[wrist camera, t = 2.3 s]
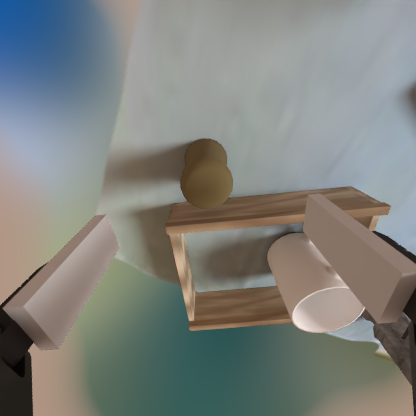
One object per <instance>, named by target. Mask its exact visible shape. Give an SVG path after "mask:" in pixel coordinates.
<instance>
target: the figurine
mask: <svg viewBox="0 0 416 416" xmlns="http://www.w3.org/2000/svg"><path fill="white" fill-rule="evenodd" d="M362 316H363V317H364V318H365V319H366V320H368V321H371V322H373V323H374V324H375V325H374V327H373V330H374V337H375V338H377V339H378V340H379V341H380V342H381V344H382V346H383V347H384V349H385V350H386V351H387V353H388V354H389V355H390V356H391V358H392V359H393V360H394V362H395V363H396V364H397V365H398V367H399V368H400V370H401V371H402V373H403V374H404V376H405V377H406V378H407V380H408V381H409V382H410V384H411V385H412V376H411V361H410V346H409V335H408V336H407V338H406V339H405V340H404V339H401V337H402V334H403V332H404V331H405V329H406V327H407V326H408V324H409V323H410V321H411V320H410V319H409V318H408V317H407V316H406V315H405V313H404V312H403V313H402V315H401V316H400V318H399V320H398V322H392V323H379V324H378V323H377V322H376V321H375V320H374V318H373V317H372V316H371V315H370V313H369V312H368V311H367V310H366V309H364V311H363V312H362Z"/></svg>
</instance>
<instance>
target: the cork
mask: <svg viewBox="0 0 416 416" xmlns="http://www.w3.org/2000/svg"><path fill="white" fill-rule="evenodd" d="M185 167H186V168H185V169H184V170H183V173H182V176H181V179H180V184H181V190H182V193H183V195H184V197H185V198H186V200H187V201H188V202H189V203H190V204H192V205H193V206H195V207H198V208H201V209H212V208H216V207H218V206H220V205H222V204H223V203H224V202H225V201H226V200H227V199H228V198H229V196H230V194H231V191H232V187H233V179H232V175H231V172H230V170H229V169H228V167H227V155H226V151H225V150H224V148H223V147H222V145H221V144H219V143H218V142H217V141H215V140H212V139H200V140H197V141H195V142H194V143H192V144H191V145H190V146H189V148H188V149H187V151H186V154H185Z"/></svg>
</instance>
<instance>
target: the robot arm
mask: <svg viewBox="0 0 416 416" xmlns="http://www.w3.org/2000/svg"><path fill="white" fill-rule="evenodd" d="M302 231H303V232H304V233H305V234H306V235H307V237H308V238H309V239H310V240H311V242H312V243H313V244H314V245H315V247H316V248H317V249H318V250H319V252H320V253H321V254H322V255H323V257H324V258H325V259H326V260H327V261H328V263H329V264H330V265H331V266H332V268H333V269H334V270H335V271H336V273H337V274H338V275H339V276H340V278H341V279H342V280H343V281H344V283H345V284H346V285H347V286H348V287H349V289H350V290H351V291H352V292H353V294H354V295H355V296H356V297H357V299H358V300H359V301H360V302H361V304H362V305H363V306H364V307H365V309H366V310H367V311H368V312H369V313H370V315H371V316H372V317H373V318H374V320H375V321H376V322H377V323H378V324H379V323H392V322H398V320H399V318H400V316H401V315H402V313H403V312H404V313H405V315H406V316H407V317H408V318H409V319H410V320H411V321H410V323H409V324H408V326H407V327H406V329H405V331H404V332H403V334H402V337H401V339H404V340H405V339H406V338H407V336H408V335H409V346H410V361H411V376H412V390H413V405H414V416H416V256H415V255H414V254H412V253H411V252H409V251H407V250H406V249H405V248H404V247H402V246H401V245H398V243H396V242H395V241H394V240H392V239H391V238H389V237H388V236H386V235H383V234H381V233H379V232H376V231H370V230H369V229H368V228H366V227H365V226H363V225H362V224H361V223H359V222H358V221H357V220H355V219H354V218H353V217H351V216H350V215H348V214H347V213H346V212H344V211H343V210H342V209H340V208H339V207H338V206H336V205H335V204H334V203H332V202H331V201H329V200H328V199H327V198H325V197H324V196H323V195H321V194H310V195H308V197H307V203H306V210H305V217H304V223H303V230H302ZM119 248H120V247H119V245H118V242H117V240H116V237H115V235H114V232H113V229H112V227H111V224H110V222H109V219H108V217H107V215H97V216H94V217H93V218H92V219H91V220H90V222H88V223H87V225H85V227H83V228H82V229H81V230H80V231H79V232H78V233H77V234H76V235H75V236H74V237H73V238H72V239H71V240H70V241H69V242H68V244H66V245H65V246H64V247H63V248H62V249H61V250H60V251H59V252H58V253H57V254H56V255H55V256H54V257H53V258H52V259H51V260H50V261H49V262H48V263H46V264H45V265H43V266H42V267H40V268H39V269H37V270H36V271H35V272H34V273H33V274H32V275H31V276H30V277H29V279H28V280H26V281H25V282H24V283H23V284H22V285H21V287H19V288H18V289H17V290H16V291H15V292H14V293H13V294H12V295H10V296H9V297H8V299H6V300H5V301H4V302H3V303H2V304H1V305H0V416H33V403H32V367H31V355H30V353H29V352H28V349H29V348H30V346H31V345H32V344H33V343H34V344H35V345H36V346H37V347H38V348H39V349H40V350H54V349H59V348H60V346H61V344H62V343H63V341H64V339H65V337H66V336H67V334H68V333H69V331H70V329H71V328H72V326H73V324H74V323H75V321H76V319H77V318H78V316H79V314H80V313H81V311H82V309H83V308H84V306H85V304H86V303H87V301H88V299H89V298H90V296H91V294H92V293H93V291H94V289H95V288H96V286H97V284H98V282H99V281H100V279H101V278H102V276H103V274H104V272H105V271H106V269H107V268H108V266H109V264H110V263H111V261H112V259H113V258H114V256H115V254H116V253H117V251H118V249H119Z"/></svg>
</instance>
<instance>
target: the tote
mask: <svg viewBox="0 0 416 416" xmlns="http://www.w3.org/2000/svg"><path fill="white" fill-rule="evenodd" d="M310 194H321V195H323V196H324V197H325V198H327V199H328V200H329V201H331V202H332V203H334V204H335V205H336V206H338V207H339V208H340V209H342V210H343V211H344V212H346V213H347V214H348V215H350V216H351V217H353V218H354V219H355V220H357V221H358V222H359V223H361V224H362V225H363V226H365V227H366V228H368V229H369V230H370V231H374V229H375V227H376V224H377V221H378V218H379V215H388V213H389V210H390V207H391V206H390V205H388V204H386V203H381V202H379V201H377V200H375V199H374V198H372V197H370V196H368V195H366V194H364V193H362V192H361V191H359V190H357V189H355V188H353V187H342V188H331V189H321V190H311V191H300V192H290V193H279V194H269V195H258V196H248V197H238V198H228V199H227V200H226V201H225V202H224V203H223V204H222V205H220V206H218V207H216V208H212V209H201V208H198V207H195V206H193V205H192V204H190V203H189V202H186V203H175V204H173V206H172V209H171V213H170V216H169V219H168V222H167V223H166V226H165V229H166V233H167V235H169V236H170V240H171V244H172V249H173V253H174V257H175V262H176V266H177V270H178V274H179V279H180V283H181V287H182V292H183V296H184V300H185V305H186V309H187V313H188V318H189V329H190V331H193V330H206V329H219V328H232V327H245V326H258V325H271V324H284V323H293V322H292V320H291V318H290V315H289V313H288V310H287V308H286V306H285V303H284V301H283V298H282V296H281V293H280V291H279V288H278V286H274V287H262V288H249V289H237V290H225V291H213V292H201V293H195V289H194V284H193V278H192V273H191V268H190V262H189V257H188V252H187V246H186V241H185V236H184V233H193V232H204V231H215V230H226V229H237V228H248V227H259V226H270V225H280V224H291V223H302V222H304V217H305V210H306V203H307V197H308V195H310Z"/></svg>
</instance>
